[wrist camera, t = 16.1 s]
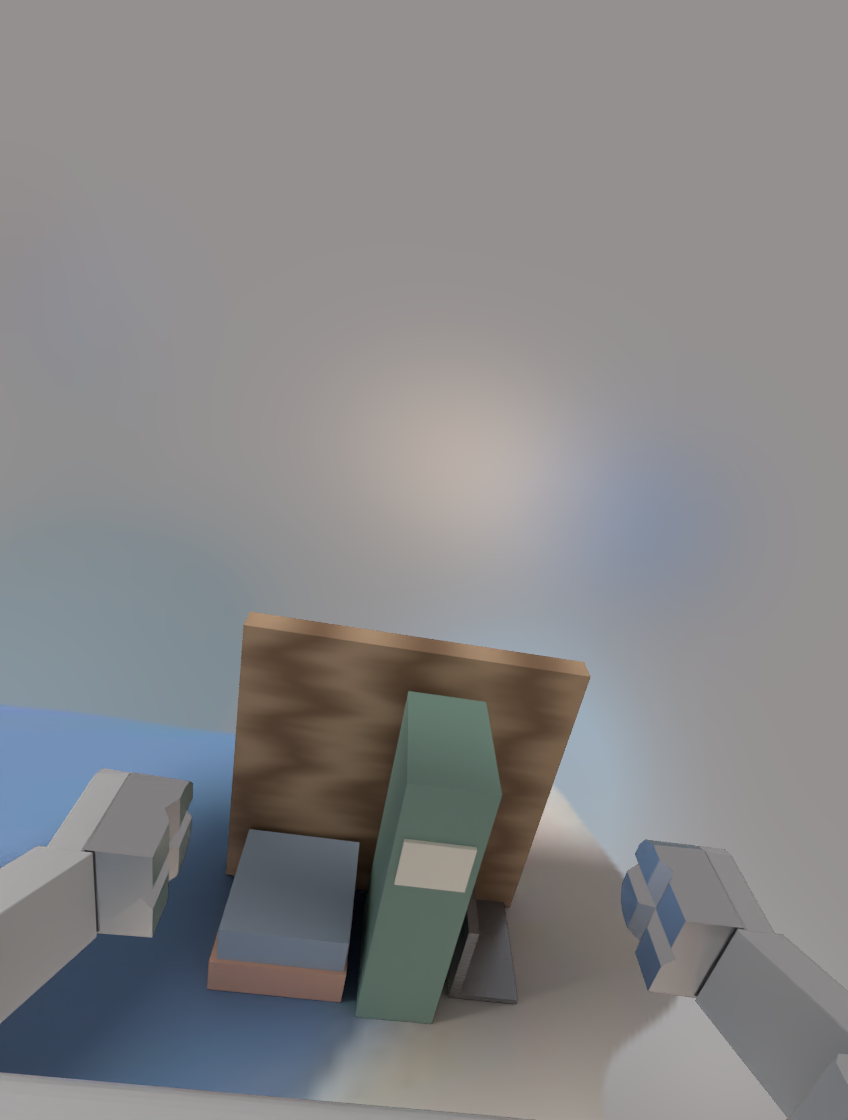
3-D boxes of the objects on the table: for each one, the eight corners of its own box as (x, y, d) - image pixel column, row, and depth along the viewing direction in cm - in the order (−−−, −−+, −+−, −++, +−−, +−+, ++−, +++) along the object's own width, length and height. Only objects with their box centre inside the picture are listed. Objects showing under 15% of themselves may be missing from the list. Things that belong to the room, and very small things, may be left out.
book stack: (207, 989, 35) (210, 932, 33) (239, 878, 42) (244, 825, 40) (340, 1002, 36) (351, 947, 34) (352, 891, 43) (362, 840, 41)
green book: (354, 1020, 35) (406, 786, 28) (364, 905, 42) (408, 691, 35) (431, 1027, 36) (502, 798, 28) (428, 912, 42) (486, 701, 35)
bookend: (448, 997, 37) (468, 933, 35) (444, 899, 43) (461, 838, 41) (516, 1004, 38) (541, 941, 35) (502, 906, 44) (523, 846, 41)
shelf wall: (225, 874, 42) (243, 624, 34) (232, 855, 43) (250, 611, 35) (509, 907, 44) (590, 676, 36) (506, 888, 45) (584, 662, 37)
